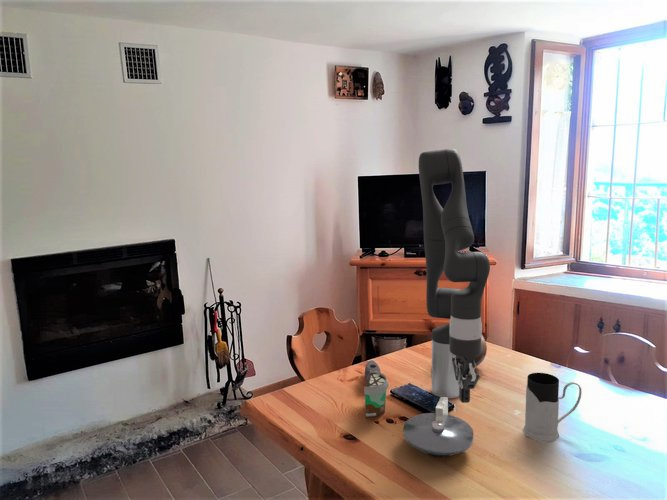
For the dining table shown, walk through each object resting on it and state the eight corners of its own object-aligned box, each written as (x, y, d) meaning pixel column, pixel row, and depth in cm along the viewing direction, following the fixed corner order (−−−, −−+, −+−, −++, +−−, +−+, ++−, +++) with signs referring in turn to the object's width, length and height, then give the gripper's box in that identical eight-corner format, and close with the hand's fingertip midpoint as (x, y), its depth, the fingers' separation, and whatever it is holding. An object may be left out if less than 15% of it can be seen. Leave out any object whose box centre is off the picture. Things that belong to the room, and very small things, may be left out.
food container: (387, 422, 135) (386, 388, 134) (365, 421, 137) (364, 387, 135) (390, 402, 147) (390, 370, 146) (370, 400, 148) (369, 369, 147)
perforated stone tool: (364, 373, 169) (363, 354, 168) (379, 373, 169) (379, 354, 168) (365, 392, 154) (365, 372, 153) (382, 392, 154) (382, 371, 153)
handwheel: (467, 461, 111) (467, 434, 109) (395, 446, 117) (394, 421, 116) (477, 425, 126) (478, 401, 125) (413, 413, 133) (413, 391, 132)
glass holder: (518, 424, 133) (520, 371, 130) (571, 423, 132) (574, 370, 130) (530, 441, 124) (532, 386, 121) (587, 441, 123) (590, 385, 121)
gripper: (491, 342, 112) (489, 413, 114) (470, 324, 125) (469, 389, 127) (459, 343, 111) (458, 415, 114) (442, 326, 124) (441, 390, 127)
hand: (464, 401), depth 121 cm, fingers closed
